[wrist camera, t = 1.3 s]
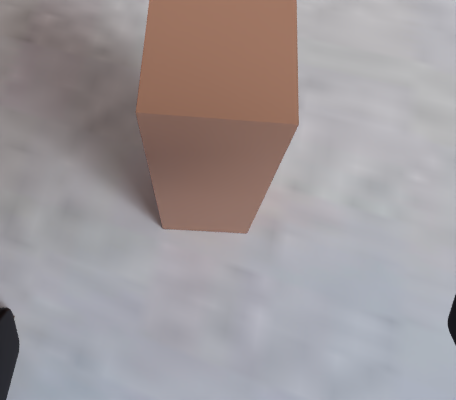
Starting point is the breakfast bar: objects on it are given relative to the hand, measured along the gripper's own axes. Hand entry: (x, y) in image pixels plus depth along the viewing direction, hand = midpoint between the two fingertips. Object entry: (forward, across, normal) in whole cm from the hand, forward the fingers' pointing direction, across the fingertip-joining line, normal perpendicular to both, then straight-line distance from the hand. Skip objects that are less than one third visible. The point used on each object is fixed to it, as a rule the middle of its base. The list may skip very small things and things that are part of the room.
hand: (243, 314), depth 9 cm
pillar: (+15, 0, +4) cm, 16 cm away
